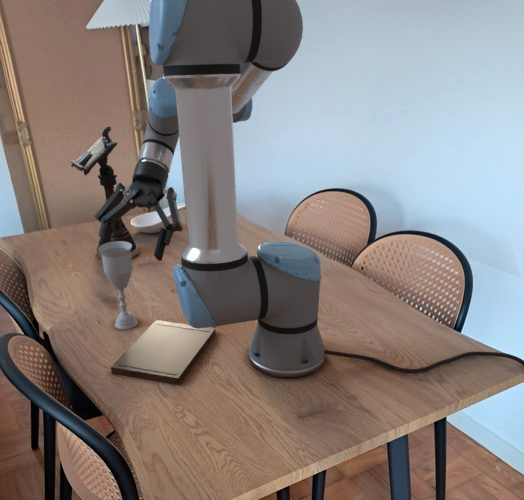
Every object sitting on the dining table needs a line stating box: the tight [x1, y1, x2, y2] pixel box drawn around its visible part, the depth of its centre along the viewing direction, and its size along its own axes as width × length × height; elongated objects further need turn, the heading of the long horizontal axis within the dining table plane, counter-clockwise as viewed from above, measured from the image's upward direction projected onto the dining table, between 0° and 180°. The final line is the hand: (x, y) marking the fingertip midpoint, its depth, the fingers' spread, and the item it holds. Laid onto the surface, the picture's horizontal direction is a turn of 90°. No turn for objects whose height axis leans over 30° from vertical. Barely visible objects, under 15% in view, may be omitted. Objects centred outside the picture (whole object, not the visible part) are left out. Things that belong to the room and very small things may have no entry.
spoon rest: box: [130, 203, 186, 234], centre depth 178 cm, size 24×12×7 cm, turn 113°
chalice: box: [97, 241, 138, 330], centre depth 119 cm, size 7×7×18 cm
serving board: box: [110, 319, 217, 386], centre depth 113 cm, size 14×20×2 cm
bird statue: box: [69, 126, 140, 260], centre depth 150 cm, size 17×13×35 cm
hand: (129, 255), depth 121 cm, fingers open, 13 cm apart
